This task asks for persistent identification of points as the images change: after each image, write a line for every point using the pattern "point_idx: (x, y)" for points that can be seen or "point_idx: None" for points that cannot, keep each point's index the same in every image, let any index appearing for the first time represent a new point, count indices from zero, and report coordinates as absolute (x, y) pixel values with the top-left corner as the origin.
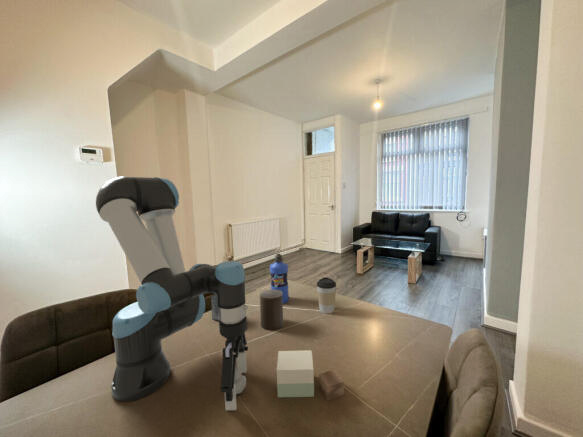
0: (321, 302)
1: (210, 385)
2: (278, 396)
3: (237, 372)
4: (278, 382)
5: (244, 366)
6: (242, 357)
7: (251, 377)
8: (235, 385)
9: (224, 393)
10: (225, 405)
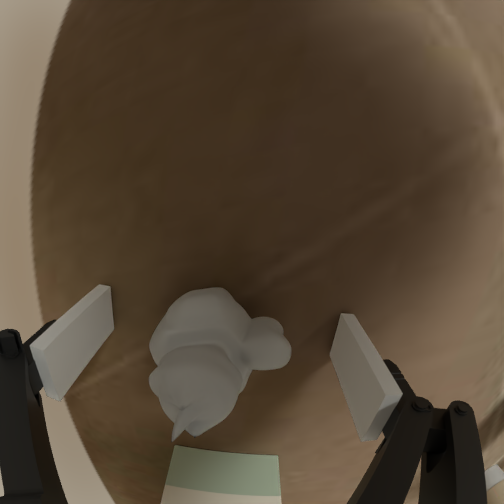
0: (492, 492)
1: (274, 163)
2: (174, 448)
3: (169, 415)
4: (165, 490)
5: (339, 372)
6: (360, 405)
7: (293, 377)
8: (160, 357)
9: (52, 324)
10: (87, 295)
